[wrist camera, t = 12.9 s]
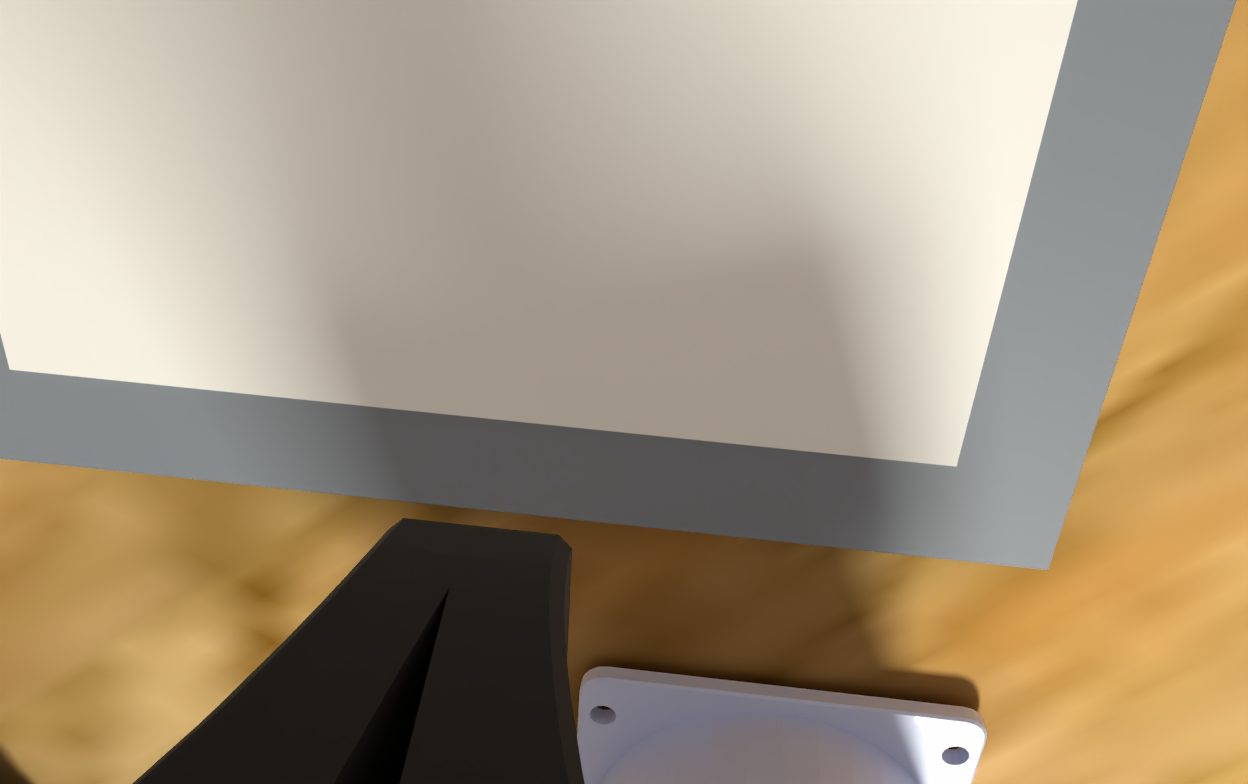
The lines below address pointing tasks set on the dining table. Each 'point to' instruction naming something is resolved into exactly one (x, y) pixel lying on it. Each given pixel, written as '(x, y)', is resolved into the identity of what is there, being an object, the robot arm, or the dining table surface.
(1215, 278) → the dining table surface
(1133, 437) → the dining table surface
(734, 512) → the white mounting plate
